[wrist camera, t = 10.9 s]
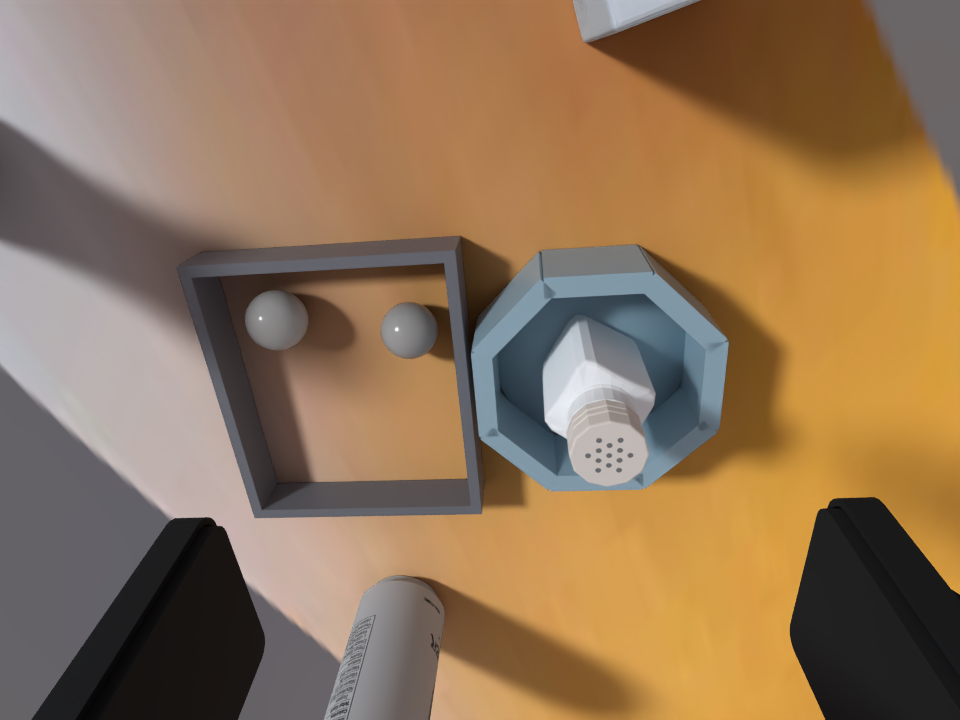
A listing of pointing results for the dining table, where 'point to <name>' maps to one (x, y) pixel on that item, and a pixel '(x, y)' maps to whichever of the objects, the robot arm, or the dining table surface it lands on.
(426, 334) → the pebble
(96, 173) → the dining table surface
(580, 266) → the bowl
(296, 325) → the pebble
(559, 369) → the pepper shaker
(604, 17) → the skincare box
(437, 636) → the energy drink can
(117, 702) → the robot arm
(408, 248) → the parts tray
